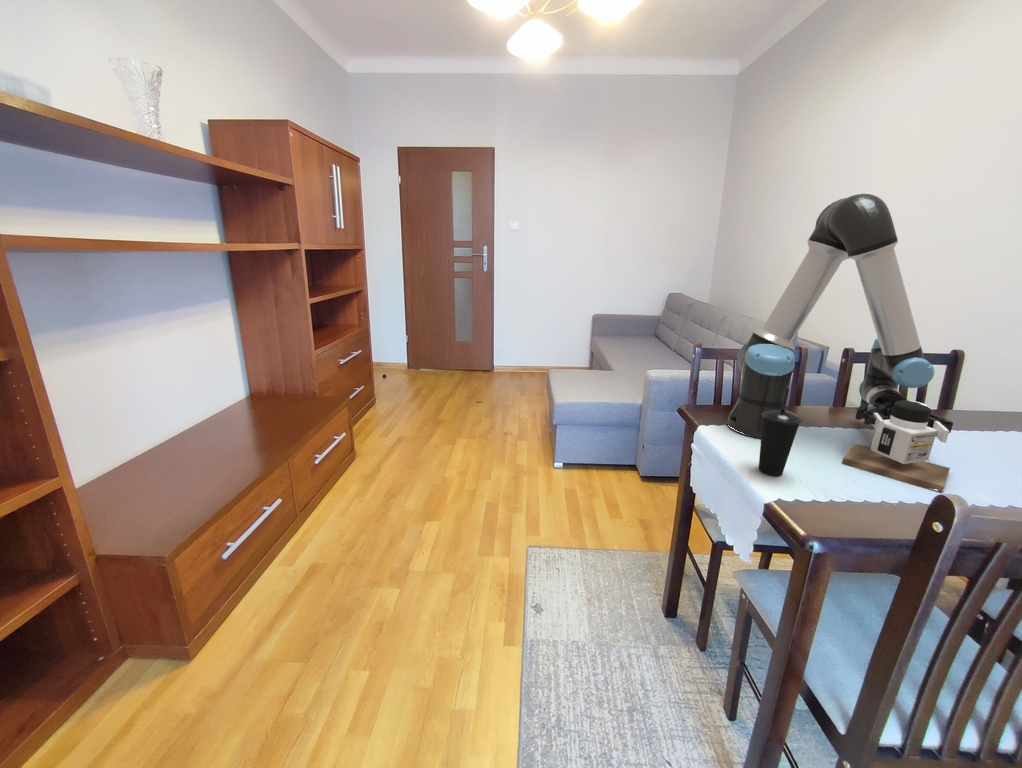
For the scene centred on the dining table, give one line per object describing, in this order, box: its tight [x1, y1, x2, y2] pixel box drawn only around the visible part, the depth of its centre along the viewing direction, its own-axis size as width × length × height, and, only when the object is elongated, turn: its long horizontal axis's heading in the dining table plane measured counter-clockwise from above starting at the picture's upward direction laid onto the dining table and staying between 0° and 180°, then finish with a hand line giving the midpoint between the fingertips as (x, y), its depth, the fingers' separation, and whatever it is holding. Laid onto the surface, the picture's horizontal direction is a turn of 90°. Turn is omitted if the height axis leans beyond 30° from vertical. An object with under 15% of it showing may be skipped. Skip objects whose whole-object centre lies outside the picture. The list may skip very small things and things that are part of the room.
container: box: [870, 399, 937, 464], centre depth 105 cm, size 8×8×13 cm
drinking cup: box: [758, 387, 803, 478], centre depth 102 cm, size 8×8×20 cm
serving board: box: [841, 443, 951, 494], centre depth 108 cm, size 18×13×2 cm
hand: (912, 431), depth 101 cm, fingers closed on container, 10 cm apart
